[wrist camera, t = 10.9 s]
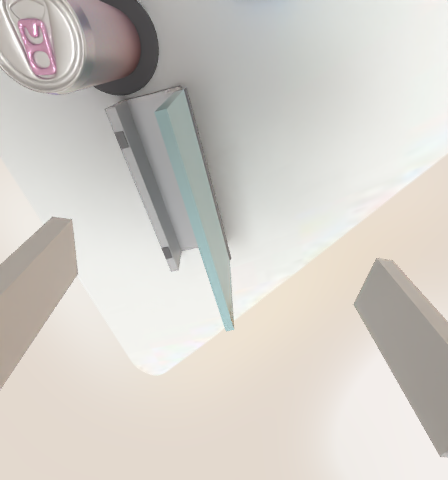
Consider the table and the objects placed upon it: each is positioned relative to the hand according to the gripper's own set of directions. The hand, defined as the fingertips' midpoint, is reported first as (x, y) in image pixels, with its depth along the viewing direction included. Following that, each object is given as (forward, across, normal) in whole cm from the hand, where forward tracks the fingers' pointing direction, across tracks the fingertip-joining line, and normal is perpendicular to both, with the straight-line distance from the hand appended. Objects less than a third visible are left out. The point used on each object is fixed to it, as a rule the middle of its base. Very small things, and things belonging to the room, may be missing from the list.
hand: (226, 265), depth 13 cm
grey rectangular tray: (+25, -5, -6) cm, 26 cm away
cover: (+15, -1, -5) cm, 16 cm away
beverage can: (+25, -12, +8) cm, 28 cm away
